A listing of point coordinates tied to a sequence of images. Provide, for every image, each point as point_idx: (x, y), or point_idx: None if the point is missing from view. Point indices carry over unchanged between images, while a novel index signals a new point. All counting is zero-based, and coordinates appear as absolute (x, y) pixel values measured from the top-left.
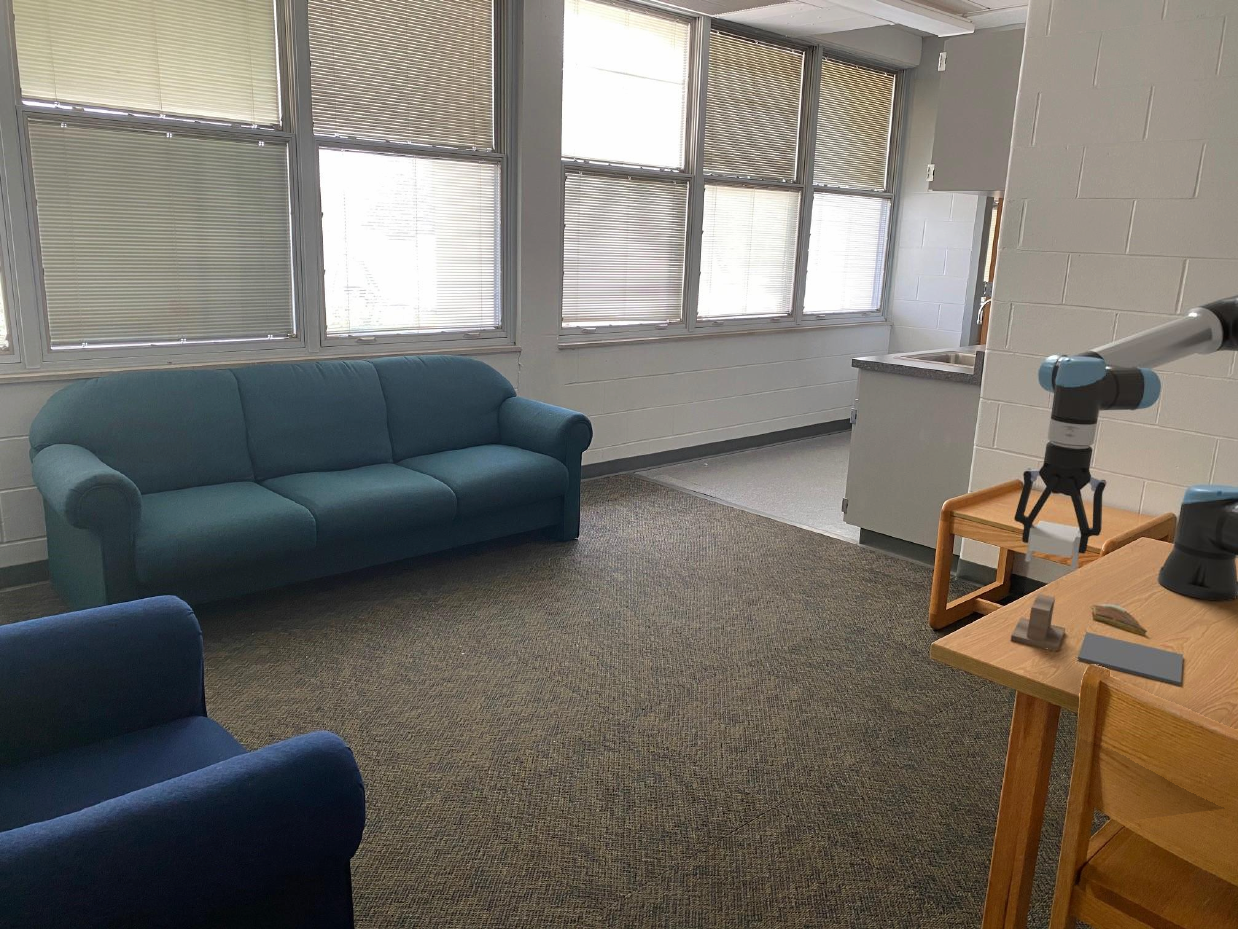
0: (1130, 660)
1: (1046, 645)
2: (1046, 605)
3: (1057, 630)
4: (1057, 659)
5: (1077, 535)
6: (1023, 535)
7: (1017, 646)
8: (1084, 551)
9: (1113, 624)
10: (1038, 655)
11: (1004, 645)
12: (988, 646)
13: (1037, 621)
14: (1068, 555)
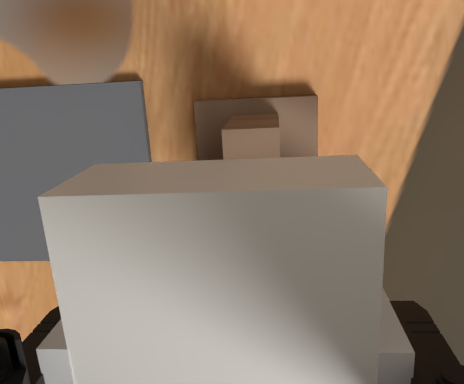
0: (36, 148)
1: (222, 100)
2: None
3: None
4: (184, 49)
5: (65, 378)
6: (432, 326)
7: (292, 64)
8: (56, 310)
9: None
10: (231, 40)
11: (324, 45)
12: (364, 3)
13: (254, 121)
14: (104, 166)
